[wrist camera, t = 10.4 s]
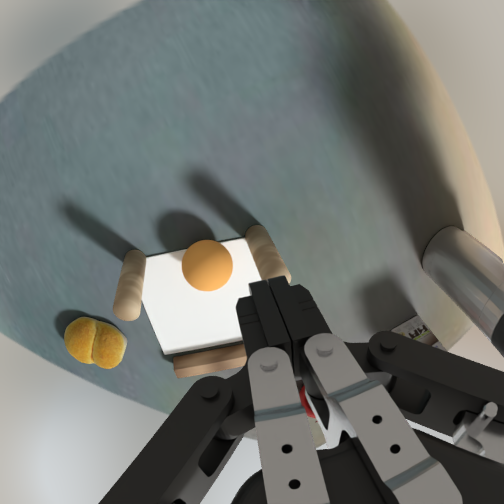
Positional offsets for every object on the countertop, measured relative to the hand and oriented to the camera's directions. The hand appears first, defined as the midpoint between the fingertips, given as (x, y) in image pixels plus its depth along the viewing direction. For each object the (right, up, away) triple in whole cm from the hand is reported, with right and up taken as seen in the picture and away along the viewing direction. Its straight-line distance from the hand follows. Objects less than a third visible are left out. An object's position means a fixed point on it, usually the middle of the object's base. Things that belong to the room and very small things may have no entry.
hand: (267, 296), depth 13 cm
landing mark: (-6, -4, +27) cm, 28 cm away
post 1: (-14, +1, +22) cm, 26 cm away
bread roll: (-22, -10, +27) cm, 36 cm away
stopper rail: (-5, -13, +32) cm, 35 cm away
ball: (-5, 0, +21) cm, 22 cm away
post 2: (0, +4, +24) cm, 24 cm away
